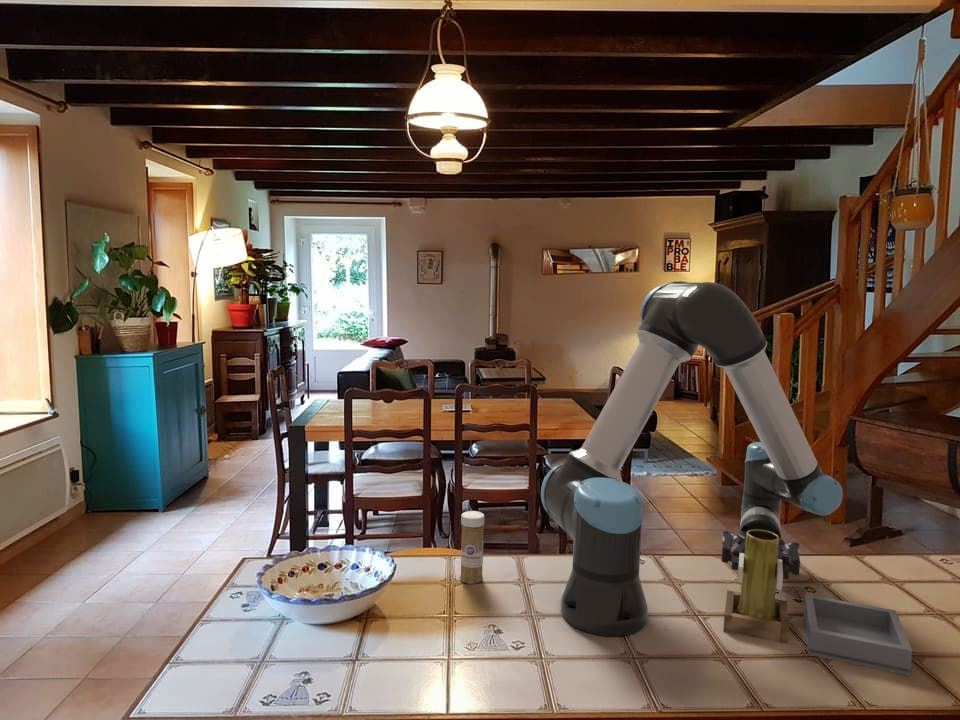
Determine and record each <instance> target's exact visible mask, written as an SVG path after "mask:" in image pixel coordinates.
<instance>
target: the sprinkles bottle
mask: <svg viewBox="0 0 960 720" xmlns="http://www.w3.org/2000/svg"><path fill="white" fill-rule="evenodd" d="M460 515H461V516H460V518H461V519H460V525H461V545H460V546H461V548H460V577H459V579H460V580H461V582H463V583H465V584H470V585H473V584H478V583H480V582H482V581H483V577H484V576H483V565H484V564H483V563H484V526H485V514H484V513H482V512H481V511H478V510H469V511H468V510H467V511H465V512H463V513H462V514H460Z"/></svg>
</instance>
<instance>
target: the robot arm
mask: <svg viewBox="0 0 960 720" xmlns="http://www.w3.org/2000/svg"><path fill="white" fill-rule="evenodd" d="M640 317H641V320H640V321H641V324H640V326H639V328H638V329H637V331H636V334H637V338H638V342H639V343H638V346H636V349H635V351H634V353H633V354H632V356H631V358H630V359H629V361H628V363H627V365H626V367H625V369H624V370H623V372H622V373H621V375H620V377H619V379H618V381H617V383H616V385H615V386H614V389H613V390H612V392H611V393H610V395H609V397H608V398H607V400H606V401H605V402H606V403H605V405H604V406H603V408H602V410H601V412H600V414H599V416H598V417H597V419H596V421H595V422H594V424H593V426H592V427H591V430H590V431H589V433H588V435H587V436H586V438H585V441H584V442H583V444H582V446H581V447H580V448H579V449H578V448H577V449H576V450H571V451H569V452H568V455H566V458H565V460H564V462H563V463H560V464H558V465H555V466H554V467H553V468H551V469H550V470H549V471H548V472H547V474H546V475H545V477H544V478H543V480H542V484H541V487H540V489H541V490H540V499H541V503H542V506H543V509H544V511H545V512H546V513H547V515H548V516H549V518H550V519H551V520H552V522H554V524H555V525H558V526H559V527H560V528H561V529H562V530H563V531H564V532H565V533H566V534H567V535H568V536H569V537H570V538H572V541H573V543H572V544H573V545H572V569H571V572H570V575H569V578H568V579H567V582H566V584H565V585H566V586H565V589H564V591H563V593H562V595H561V600H560V601H561V602H560V603H561V606H560V612H561V616H562V617H563V619H564V620H565V621H566V622H567V623H568V624H570V625H571V626H572V627H574V628H576V629H577V630H581V631H584V632H586V633H589V634H594V635H598V636H605V637H621V636H622V637H623V636H626V635H628V636H629V635H632V634H636V633H638V632H639V631H641V630H642V629H644V628H645V626H646V625H647V622H648V613H649V609H648V608H649V607H648V604H647V600H646V597H645V593H644V589H643V586H642V583H641V579H640V563H641V548H642V547H641V546H642V545H641V544H642V528H643V527H642V526H643V525H642V524H643V520H644V509H643V500H642V496H641V494H640V493H639V491H638V490H637V489H636V488H635V487H634V486H632V485H631V484H629V483H627V482H624V481H623V478H622V475H621V469H622V467H623V465H624V464H625V462H626V460H627V458H628V457H629V455H630V452H631V451H632V449H633V447H634V445H635V444H636V442H637V440H638V438H639V437H640V436H641V433H642V431H643V429H644V427H645V426H646V424H647V422H648V420H649V418H650V417H651V415H652V413H653V411H654V409H655V408H656V406H657V404H658V403H659V401H660V399H661V397H662V395H664V392H665V390H666V388H667V387H668V385H669V383H670V381H671V379H672V377H673V376H674V374H675V372H676V370H677V368H678V366H679V365H680V364H682V363H684V362H688V361H690V360H692V358H693V356H694V354H695V352H696V351H697V349H698V347H699V346H700V347H702V348H703V349H705V351H706V352H708V354H709V355H710V357H711V359H712V360H713V363H714V365H715V366H717V367H719V368H723V369H724V372H725V373H726V375H727V378H728V379H729V382H730V383H731V385H732V387H733V389H734V391H735V393H736V395H737V398H738V399H739V401H740V404H741V405H742V407H743V409H744V411H745V413H746V416H747V417H748V419H749V421H750V423H751V425H752V427H753V429H754V431H755V432H756V435H757V437H758V439H759V441H756V442H751V443H750V444H749V445H747V447H746V456H745V460H744V480H743V481H744V482H743V489H742V490H743V492H742V498H741V499H742V500H741V511H740V517H741V518H740V525H739V532H738V533H737V534H736V535H735V534H733V533H731V532H729V531H727V530H723V531H722V541H721V543H722V550H721V562H722V563H729V562H730V563H731V567H730V569H732V571H733V570H734V571H737V583H740V584H741V583H742V578H743V564H744V554H745V542H746V534H747V531H749V530H754V529H759V530H766V531H770V532H773V533H775V534H777V535H778V536H779V547H778V560H777V574H776V590H777V591H778V590H779V591H782V590H783V581H784V580H789V579H790V574H791V575H794V576H800V571H801V570H800V569H801V559H800V555H799V554H800V543H798V542H792V543H790V542H789V543H785V540H783V538H782V531H781V510H782V509H781V508H782V500H784V501H786V502H788V503H790V504H791V505H794V506H795V507H797V508H799V509H802V510H803V511H805V512H809V513H812V514H814V515H818V516H822V517H823V516H828V515H831V514H833V513H834V512H835V511H836V510H838V508H839V507H840V505H841V504H842V501H843V496H844V495H843V494H844V492H843V487H842V486H841V484H840V482H838V480H836V479H835V478H833V477H831V476H830V475H829V474H824V472H823V470H822V469H821V466H820V465H819V462H818V460H817V459H816V457H815V454H814V452H813V450H812V447H811V446H810V444H809V442H808V440H807V437H806V435H805V433H804V431H803V428H802V427H801V424H800V423H799V421H798V419H797V416H796V414H795V412H794V410H793V407H792V406H791V404H790V402H789V400H788V397H787V395H786V393H785V391H784V389H783V387H782V385H781V382H780V380H779V378H778V376H777V374H776V372H775V370H774V368H773V366H772V364H771V362H770V360H769V357H768V356H767V353H766V348H767V346H768V341H767V339H766V337H765V335H764V333H763V330H762V329H761V327H760V325H759V323H758V321H757V320H756V318H755V316H754V315H753V314H752V312H751V310H750V309H749V307H748V306H747V304H746V303H745V302H744V301H743V300H742V299H741V298H740V297H739V295H737V294H736V293H735V292H734V291H733V290H732V289H730V288H729V287H727V286H725V285H724V284H723V285H722V284H721V283H717V282H713V281H711V282H709V281H704V282H696V281H695V282H689V281H681V280H679V281H678V280H675V281H670V282H667V283H662V284H661V285H658V286H656V287H654V288H653V289H651V291H649V293H648V294H647V295H646V296H645V298H644V299H643V302H642V304H641V307H640ZM735 544H736V545H737V546H736V547H735V548H734V549H733V550H732V548H733V547H734V545H735ZM784 552H785V553H786V554H787V555H786V554H785V553H784Z"/></svg>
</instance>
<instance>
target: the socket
mask: <svg viewBox="0 0 960 720" xmlns="http://www.w3.org/2000/svg"><path fill="white" fill-rule="evenodd" d="M740 595H741V591H740V592H739V591H735V590H734V591H733V590H728V589H727V590H726V599H725V608H724V615H723V616H724V618H723V632H726V633H731V634H736V635H740V636H744V637H745V636H746V637H750V638H753V639H760V640H765V641H769V642H775V643H780V644H785V645H788V642H789V630H790V625H789V613H788V612H789V611H788V601H787V600H784V599H779V598H775V618H774V619H778V621H775V620H767V619H761V618H756V617H751V616H746V615H742V614H741V613H737V612H739V611H738V606H739V603H740ZM733 611H737V612H736V613H734V612H733Z"/></svg>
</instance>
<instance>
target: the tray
mask: <svg viewBox="0 0 960 720" xmlns="http://www.w3.org/2000/svg"><path fill="white" fill-rule="evenodd" d="M803 621H804V622H805V623H804V622H803V623H804V630H806V631H805V639H806V644H807V645H806V646H807V653H808V655H809V656H814V657H818V658H823V659H828V660H834V661H838V662H843V663H847V664H853V665H857V666H861V667H866V668H870V669H871V668H872V669H876V670H881V671H885V672H891V673H895V674H900V675H904V676H911V670H912V661H913V649H912V646H911V644H910V641H909V639H908V637H907V634H906V632H905V630H904V627H903V625H902V621H901V619H900V618H899V615H898V613H897V610H896V609H890V608H886V607H885V608H884V607H879V606H873V605H868V604H862V603H856V602H850V601H846V600H845V601H844V600H840V599H834V598H829V597H823V596H817V595H811V594H806V593H805V594H804V606H803Z"/></svg>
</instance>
